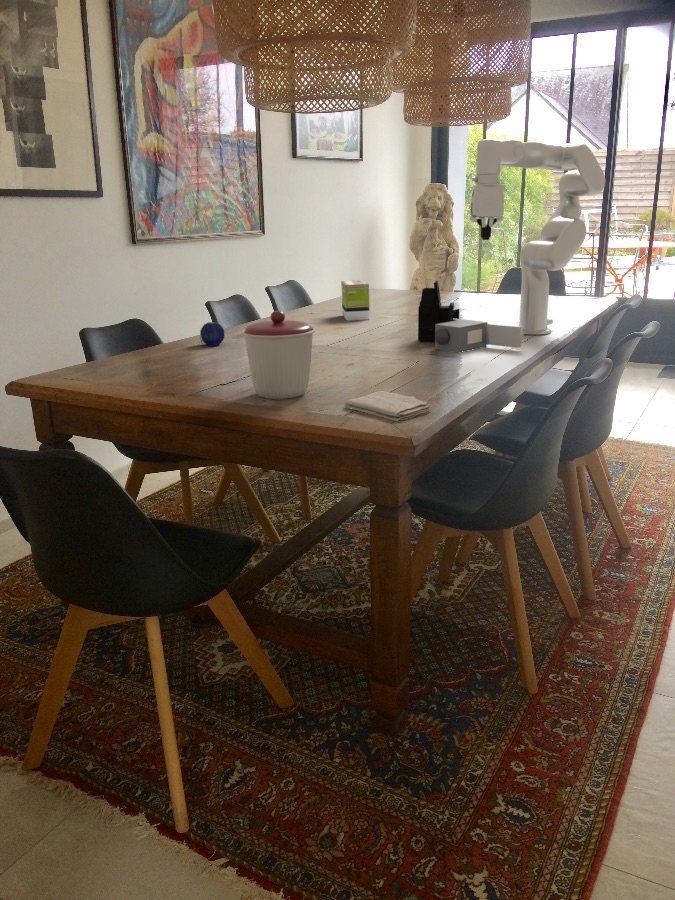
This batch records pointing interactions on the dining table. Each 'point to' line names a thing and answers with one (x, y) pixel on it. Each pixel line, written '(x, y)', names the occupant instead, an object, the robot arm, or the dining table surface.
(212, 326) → the ball
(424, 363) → the dining table surface
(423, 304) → the camera
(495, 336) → the side door
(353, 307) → the tea box
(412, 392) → the dining table surface
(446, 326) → the grey device box
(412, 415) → the washcloth
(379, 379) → the dining table surface
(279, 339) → the canister
